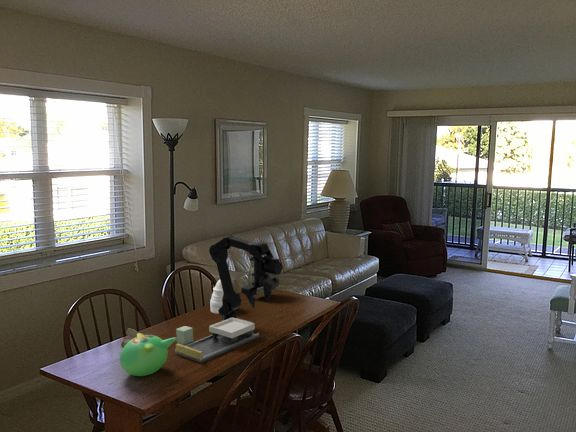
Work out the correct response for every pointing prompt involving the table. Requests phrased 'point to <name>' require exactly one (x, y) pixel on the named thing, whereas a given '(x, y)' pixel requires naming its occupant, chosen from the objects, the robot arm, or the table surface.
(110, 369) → the table surface
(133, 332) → the grey angular piece
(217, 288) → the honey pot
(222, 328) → the white square tray
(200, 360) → the track
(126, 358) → the green rounded figure
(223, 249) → the robot arm
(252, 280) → the tabletop clock
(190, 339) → the green block
